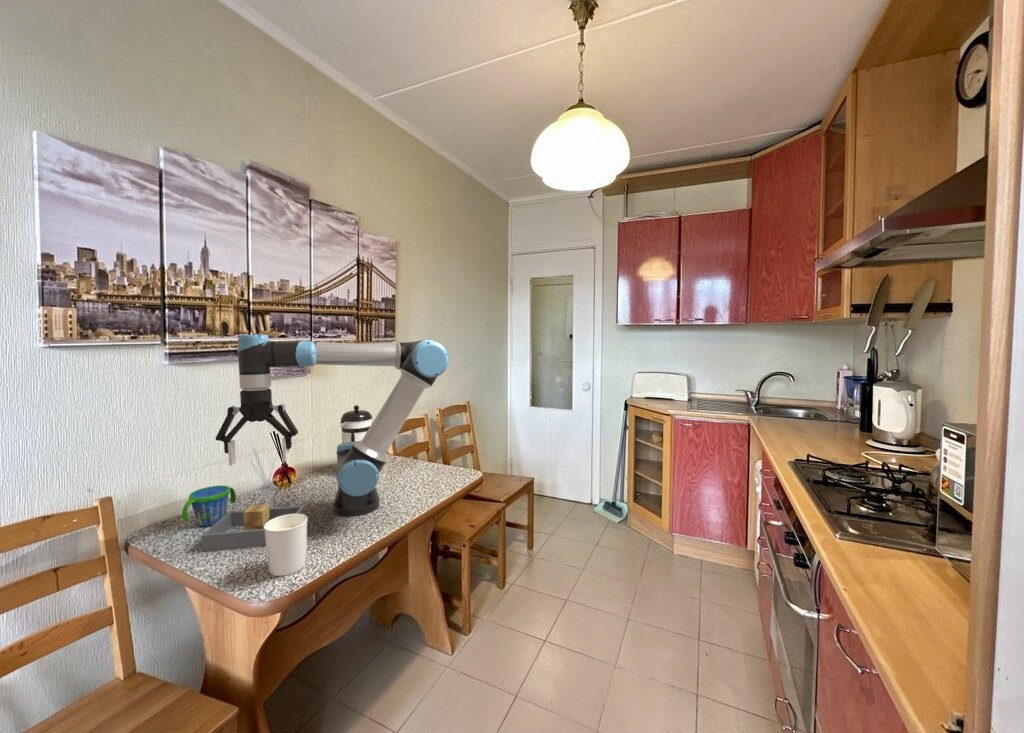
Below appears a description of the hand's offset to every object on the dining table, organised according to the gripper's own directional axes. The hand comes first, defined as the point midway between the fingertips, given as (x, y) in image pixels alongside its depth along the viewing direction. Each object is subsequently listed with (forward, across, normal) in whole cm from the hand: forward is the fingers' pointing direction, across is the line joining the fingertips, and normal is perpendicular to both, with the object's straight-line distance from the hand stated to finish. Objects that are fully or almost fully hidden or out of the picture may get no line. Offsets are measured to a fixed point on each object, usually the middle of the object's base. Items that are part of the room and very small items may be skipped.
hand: (259, 462), depth 115 cm
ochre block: (+23, +3, -5) cm, 24 cm away
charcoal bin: (+23, +3, -5) cm, 24 cm away
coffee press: (+24, -21, -56) cm, 65 cm away
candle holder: (+24, -11, +17) cm, 31 cm away
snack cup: (+24, +20, -18) cm, 36 cm away
